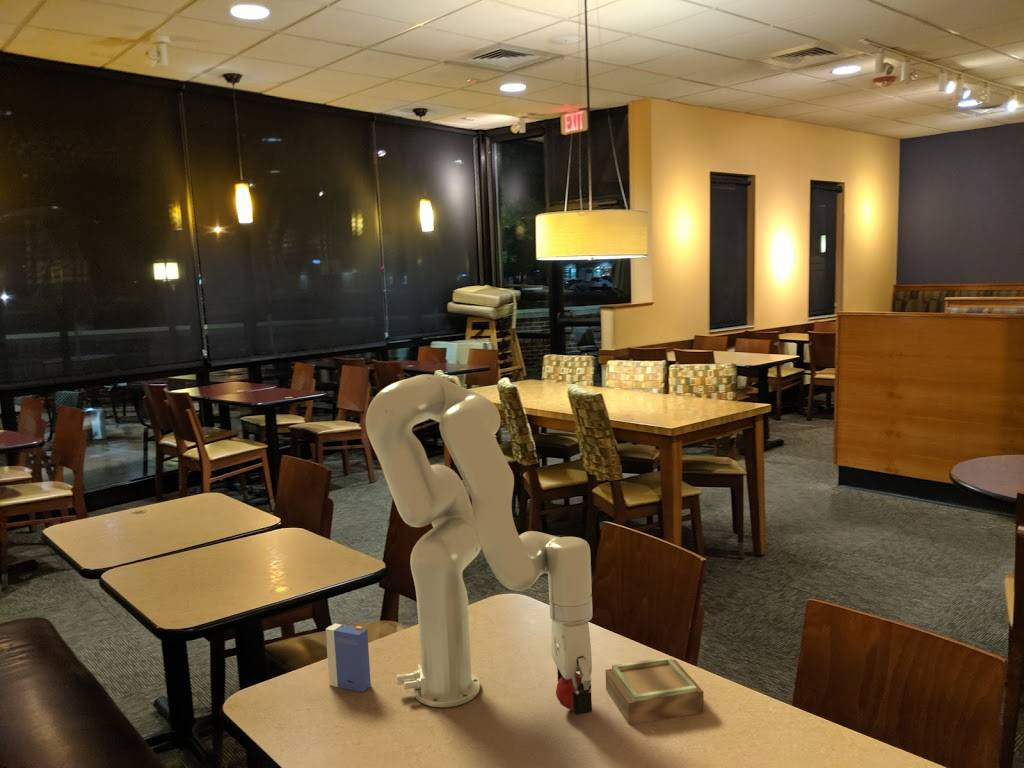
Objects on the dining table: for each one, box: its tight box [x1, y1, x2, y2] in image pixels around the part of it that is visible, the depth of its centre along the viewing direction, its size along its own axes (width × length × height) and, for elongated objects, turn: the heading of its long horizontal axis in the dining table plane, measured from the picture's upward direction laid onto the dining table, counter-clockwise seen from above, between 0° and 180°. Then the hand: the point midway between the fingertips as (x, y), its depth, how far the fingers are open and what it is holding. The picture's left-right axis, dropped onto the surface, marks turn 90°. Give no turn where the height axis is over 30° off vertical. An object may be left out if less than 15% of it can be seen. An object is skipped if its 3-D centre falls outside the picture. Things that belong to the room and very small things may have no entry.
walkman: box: [325, 623, 372, 693], centre depth 152 cm, size 8×3×12 cm, turn 66°
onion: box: [555, 672, 582, 712], centre depth 141 cm, size 6×6×8 cm
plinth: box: [605, 656, 704, 726], centre depth 144 cm, size 14×12×5 cm
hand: (574, 698), depth 142 cm, fingers open, 9 cm apart
